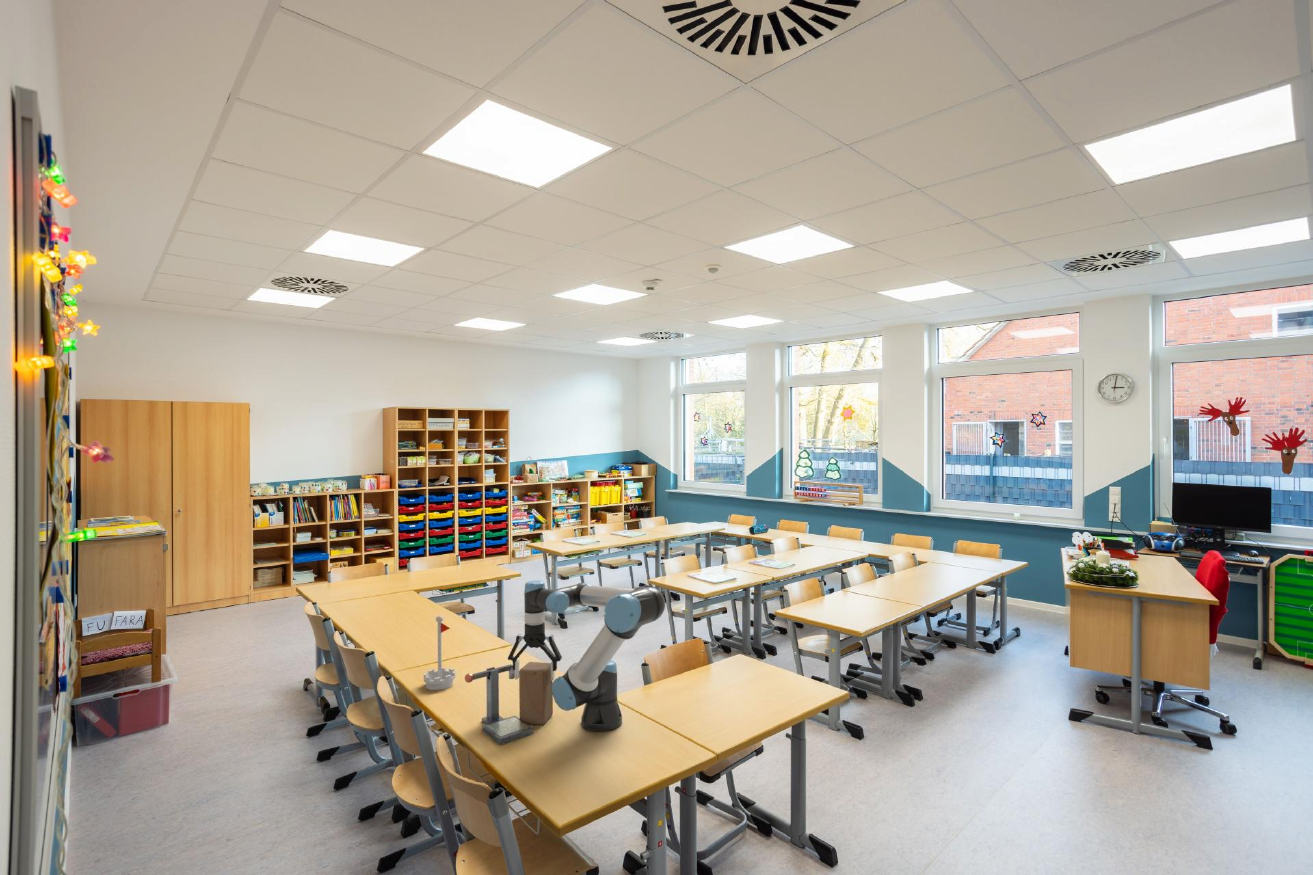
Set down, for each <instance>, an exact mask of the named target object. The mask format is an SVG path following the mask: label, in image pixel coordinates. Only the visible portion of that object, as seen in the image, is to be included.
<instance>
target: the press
mask: <svg viewBox="0 0 1313 875" xmlns="http://www.w3.org/2000/svg"><path fill="white" fill-rule="evenodd" d="M495 668H496V667H494V666H492V667H487V668H486V669H485V671H487V670H491V669H495ZM499 674H500V673H499V670H498V669H496V670H493V671H490V676H487V677H486V681H485V682H486V716H484V717H481V722H482V723H484V725H482V726H481V729H482V732H483V733H484V734H485V735H486V736H488V737H489V738H490V739H491V740H493V741H494V742H496V743H497V744H498V745H500V746H501V745H505V744H507V743H510V742H513V741H517V740H519V739H522V738H524V737H525V738H526V737H528V736H530V735H533V734H534V727H532V726H531V724H528V723H525V722H524V721H522V720H521V719H520V717H518V716H516V715H512V716H509V717H506V718H504V717H503V716H501V715H500V703H499V702H500V694H499V692H500V691H499V687H500V686H499V684H500V682H499V681H500V680H499V677H500V676H499Z"/></svg>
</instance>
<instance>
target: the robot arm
mask: <svg viewBox="0 0 1313 875" xmlns="http://www.w3.org/2000/svg"><path fill="white" fill-rule="evenodd" d="M545 584H546V583H545V581H543V580H539V579H537V580H529V581H526V582H525V584H524V592H523V596H524V597H523V598H524V600H523V601H524V635H522V634H521V633H518V635H516V636H515V643H514V644H513V645H512V646H513V647H512V648H511V651H510V652H509V654H508V656H507V660H508V661H511V662H512V665H513V670H515V678H514V680H516V681H517V680H518V679H519V671H520V659H519V658H520V656H521V655H522V654H523V652H525V650H526V649H527V648H530V649H533V648H535V649H539V648H540V649H541V650H542V651H543V652H544V653H545V654H546V656H547V657H548V658H549V659H550V661H551V662H550V663H551V681H553V684H552V693H553V701H554V702H555V703H556V705H557V706H558V707H559V709H561V710H562V711H566V712H568V711H572V710H575V709H576V708H579V707H580V706H583V705H584V708H583V712H582V714H581V717H580V720H581V721H580V722H581V723H580V725H581V726H582V728H584V729H585V730H588V731H591V732H607V731H611V730H612V731H613V730H614V729H615V730H616V729H617V728H619V727H620V726H621V725H622V724H623V715H622V712H621V709H620V706H619V702H618V669H617V668H618V666H617V665H618V664H617V663H616V662H615V661H614V660H612V659H613V658H614V656H615V655H616V653H617V652H618V651H619V649H620V648H621V646H622V645H623V644H624V642H625V641H626V640H627V641H628V640H630V639H633V638H634V636H636V634H637V632H638V631H639V630H640V629H641V627H642V626H644V625H648V624H650V623H653V622H656V621H657V620H658V619H660V618H661V617H662V616H663V614H664V611H665V608H666V600H665V597H664V595H663V593H662V592H661V591H660V590H659V589H657V588H656V587H653V586H635V588H625V587H614V586H613V587H612V586H602V585H591V584H590V583H589V582H579V583H577V584H573V585H569V586H565V587H560V588H557V589H548V588H546V585H545ZM574 606H585V607H586V606H588V607H597V608H604V616H603V618H604V619H603V620H604V624H603V627H602V628H601V629H600V631H599V632H598V633H597V634H596V636H595V637H594V639H593V641H592V642H591V643H590V645H589V646H588V648H587V649H586V651H585V652H584V654H583V655H582V656H581V658H580V659H579V660H578V662H574V663H572V664H571V665H570V666H569V667H568V669H567V671H566V672H565V673H564V674H563V675H562V676H561V675H560V676H558V677H556V678H555V672H556V671H557V670H558V662H560V661H562V658H563V657H562V654H561V652H560V650H559V648H558V646H557V644H556V642H555V639H554V635H553V634H550V635H546V623H545V622H546V621H545V619H546V616H545V615H546V612H545V611H548V612H550V613H554V614H563V613H564V612H566V611H567V609H568V608H570V607H574ZM522 640H524V642H525V644H524V645H523V647H521V649H519V651H518V652H517V653H516V651H517V649H518V647H519V644H520V643H521V641H522ZM545 641H547V642H548V643H549V646H550V647H551V649H550V648H549V646H548V645H547V643H546V642H545ZM515 653H516V655H515ZM514 655H515V656H514Z"/></svg>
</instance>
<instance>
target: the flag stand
mask: <svg viewBox="0 0 1313 875" xmlns="http://www.w3.org/2000/svg"><path fill="white" fill-rule="evenodd" d="M443 620H444V617H443V616H442V615H437V616H436V617H435V621H436V623H437V670H436V671H435V669H434V668H433V669H430V670H428V672H424V674H423V682H424V683H425V685H426V686H425V687H426V689H428V690H430V691H441V690H445V689H446V690H447V689H449V688H451V687H452V686H453V685H454V680H455V678H456V675H457V674H456V670H455V668H452V667H449V668H448V669H446V667H443V666H442V663H443V662H442V659H443V658H442V655H443V654H442V652H443V651H442V633H444V632H445V631H448V630H449V629H451V627H449V626H447V625H446V624H444V623H443Z"/></svg>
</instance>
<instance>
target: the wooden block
mask: <svg viewBox="0 0 1313 875" xmlns="http://www.w3.org/2000/svg"><path fill="white" fill-rule="evenodd" d="M518 679H519V680H518V683H519V690H518V694H519V695H518V696H519V697H518V698H519V701H518V702H519V703H518V704H519V706H518V707H519V719H521V720H522V721H524V722H525V723H527V724H528V725H542V726H543V725H545V723H547V721H548V720H549V719H550V718H551V717H552V715H553V712H554V711H553V710H554V703H553V702H554V697H553V693H552V684H553V681H554V680H553V681H551V662H541V661H528V662H527V663H526V664H525V665H523V666H522V667H520V668H519V678H518Z"/></svg>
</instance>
